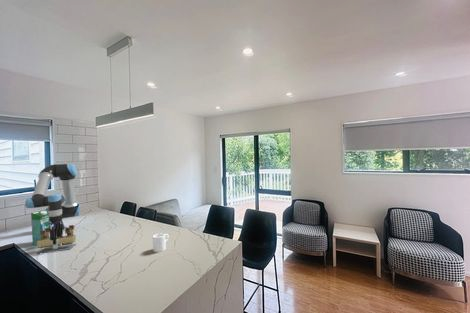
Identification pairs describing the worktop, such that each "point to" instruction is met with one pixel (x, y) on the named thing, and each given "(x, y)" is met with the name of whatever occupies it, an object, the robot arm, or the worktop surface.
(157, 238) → the mug
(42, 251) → the mat
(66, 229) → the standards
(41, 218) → the milk carton
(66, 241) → the rail
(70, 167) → the robot arm
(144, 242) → the worktop surface
